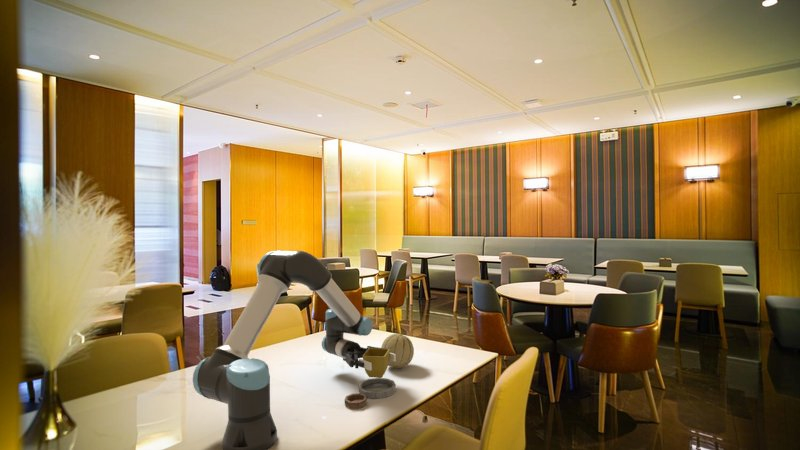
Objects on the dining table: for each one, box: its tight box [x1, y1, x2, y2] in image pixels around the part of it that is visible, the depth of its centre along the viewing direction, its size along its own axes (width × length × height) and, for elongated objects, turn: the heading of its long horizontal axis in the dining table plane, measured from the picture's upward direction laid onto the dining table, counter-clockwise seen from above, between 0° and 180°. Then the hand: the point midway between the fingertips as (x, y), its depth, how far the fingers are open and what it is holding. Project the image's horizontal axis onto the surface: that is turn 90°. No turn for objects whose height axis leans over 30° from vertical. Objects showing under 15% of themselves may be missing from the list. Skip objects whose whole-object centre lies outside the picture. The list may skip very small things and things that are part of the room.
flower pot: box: [362, 348, 390, 378], centre depth 152 cm, size 9×9×9 cm
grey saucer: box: [357, 377, 397, 399], centre depth 152 cm, size 14×14×2 cm
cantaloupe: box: [380, 331, 415, 369], centre depth 176 cm, size 15×15×15 cm
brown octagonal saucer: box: [344, 392, 368, 410], centre depth 141 cm, size 8×8×2 cm
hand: (383, 362), depth 149 cm, fingers closed on flower pot, 11 cm apart
